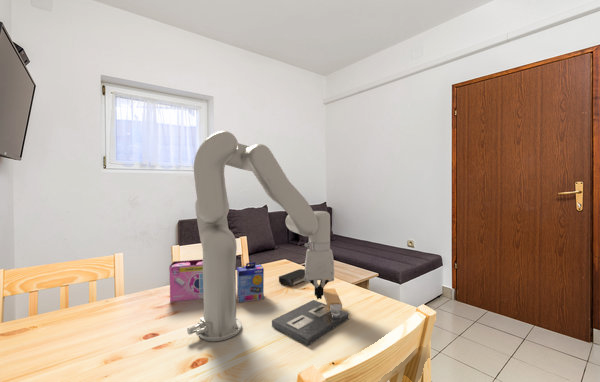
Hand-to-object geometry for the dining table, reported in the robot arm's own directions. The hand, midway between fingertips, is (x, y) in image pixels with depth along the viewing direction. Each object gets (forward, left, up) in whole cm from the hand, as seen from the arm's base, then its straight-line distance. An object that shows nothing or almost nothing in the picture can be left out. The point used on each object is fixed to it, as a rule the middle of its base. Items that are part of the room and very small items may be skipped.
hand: (318, 297), depth 97 cm
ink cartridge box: (-11, +25, -4) cm, 28 cm away
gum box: (-23, +42, -4) cm, 48 cm away
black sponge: (+14, +26, -5) cm, 30 cm away
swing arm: (0, -6, 0) cm, 6 cm away
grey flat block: (-9, -5, -4) cm, 11 cm away
